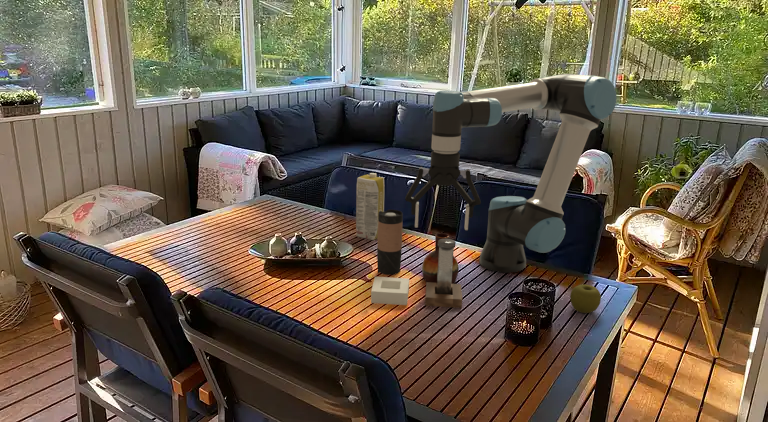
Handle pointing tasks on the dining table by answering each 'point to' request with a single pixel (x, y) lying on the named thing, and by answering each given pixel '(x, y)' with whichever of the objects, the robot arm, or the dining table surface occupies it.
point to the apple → (585, 298)
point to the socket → (390, 290)
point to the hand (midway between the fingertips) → (441, 227)
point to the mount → (443, 296)
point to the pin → (445, 266)
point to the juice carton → (369, 205)
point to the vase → (432, 263)
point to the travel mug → (389, 242)
